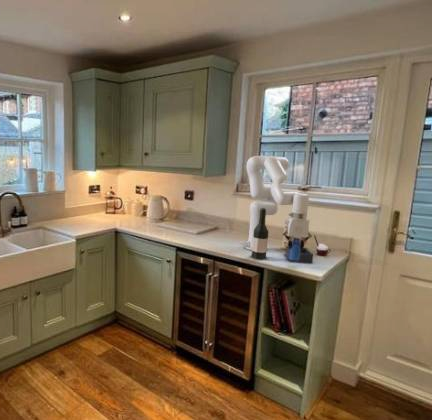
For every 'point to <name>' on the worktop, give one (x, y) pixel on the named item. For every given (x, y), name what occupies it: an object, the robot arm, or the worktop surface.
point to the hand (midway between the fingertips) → (295, 247)
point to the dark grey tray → (301, 255)
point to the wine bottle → (260, 238)
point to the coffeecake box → (285, 240)
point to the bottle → (295, 250)
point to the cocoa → (321, 248)
